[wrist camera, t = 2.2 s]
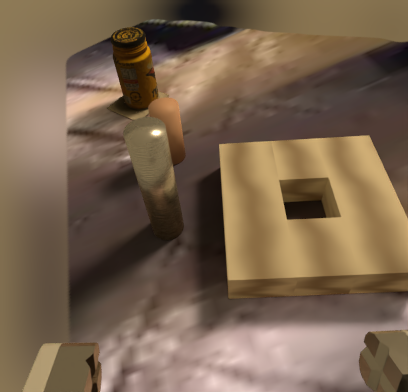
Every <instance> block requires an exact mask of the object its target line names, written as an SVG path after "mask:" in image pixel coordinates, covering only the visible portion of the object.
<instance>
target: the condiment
mask: <svg viewBox="0 0 408 392" xmlns="http://www.w3.org/2000/svg"><path fill="white" fill-rule="evenodd" d="M111 43H112V45H113V51H114V52H113V60H114V64H115V67H116V71H117V74H118V78H119V82H120V85H121V89H122V92H123V96H122V97H120V98H119V99H118V100H117V101H116V102H115V103H113V104H112V105H110V106H109V107H108V108H107V109H109V110H111V111H113V112H115V113H118V114H120V115H122V116H125V117H127V118H130V119H132V120H135V119H138V118H142V117H145V116H146V115H147V114H149V110H148V107H149V105H150V103H151V102H152V101H154V100H156V99H159V98H164V97H168V96H169V95H167V94H165V93H162V92H158V89H157V83H156V78H155V72H154V68H153V62H152V55H151V51H150V48H149V47H148V46H147V42H146V38H145V34H144V32H143V31H142V30H141V29H139V28H135V27H128V28H123V29H120V30H118V31H116V32H114V33H113V34H112V36H111ZM124 102H125V103H124ZM139 111H140V112H139ZM136 112H137V113H136Z"/></svg>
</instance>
